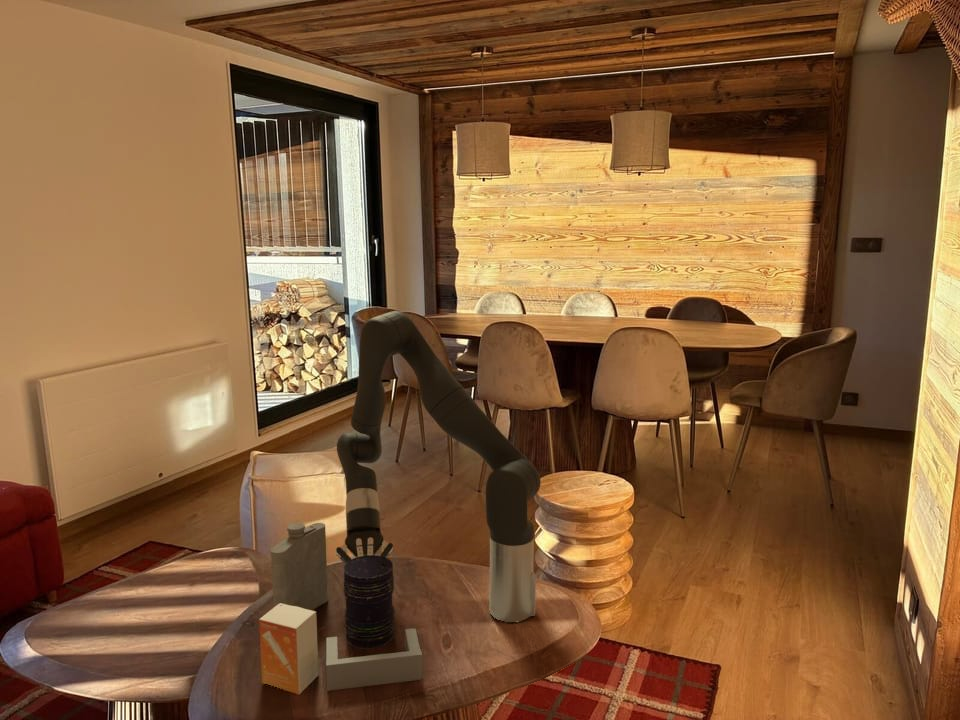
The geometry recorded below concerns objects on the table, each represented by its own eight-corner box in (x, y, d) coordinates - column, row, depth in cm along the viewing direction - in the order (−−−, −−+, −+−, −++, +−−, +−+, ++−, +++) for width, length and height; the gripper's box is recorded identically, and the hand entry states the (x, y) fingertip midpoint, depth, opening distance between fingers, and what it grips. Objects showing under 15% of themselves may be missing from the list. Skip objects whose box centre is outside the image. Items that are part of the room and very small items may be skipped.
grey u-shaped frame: (415, 646, 143) (415, 623, 142) (422, 679, 133) (422, 654, 132) (327, 656, 139) (326, 632, 138) (327, 690, 129) (326, 665, 128)
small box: (261, 685, 131) (257, 618, 128) (283, 665, 137) (279, 601, 134) (299, 696, 128) (296, 628, 125) (319, 675, 134) (317, 610, 131)
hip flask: (283, 634, 147) (279, 542, 143) (267, 630, 148) (263, 538, 145) (330, 598, 161) (327, 513, 157) (315, 594, 163) (312, 510, 159)
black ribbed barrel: (346, 651, 141) (344, 580, 138) (343, 624, 150) (341, 557, 148) (397, 645, 143) (396, 575, 141) (392, 619, 153) (390, 552, 150)
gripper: (332, 508, 160) (334, 586, 151) (393, 504, 163) (398, 581, 153) (333, 521, 166) (335, 597, 157) (391, 517, 169) (396, 591, 159)
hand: (366, 589), depth 155 cm, fingers closed
